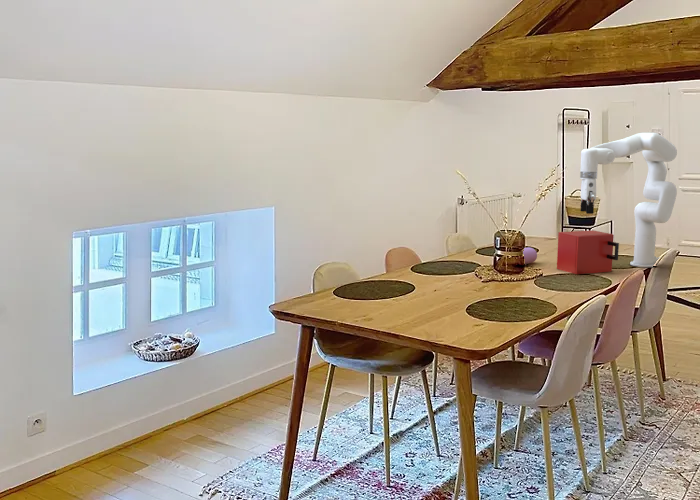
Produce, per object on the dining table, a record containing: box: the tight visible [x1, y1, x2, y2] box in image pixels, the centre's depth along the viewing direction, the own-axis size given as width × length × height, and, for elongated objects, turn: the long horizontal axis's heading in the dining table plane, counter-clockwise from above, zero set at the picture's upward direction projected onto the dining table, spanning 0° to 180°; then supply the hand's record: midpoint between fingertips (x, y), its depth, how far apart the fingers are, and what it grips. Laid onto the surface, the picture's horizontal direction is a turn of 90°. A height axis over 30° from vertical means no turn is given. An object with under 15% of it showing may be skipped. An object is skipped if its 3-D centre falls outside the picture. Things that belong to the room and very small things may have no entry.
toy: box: [523, 247, 538, 265], centre depth 356 cm, size 8×9×20 cm
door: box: [574, 233, 620, 275], centre depth 331 cm, size 7×20×18 cm, turn 110°
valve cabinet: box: [556, 230, 612, 275], centre depth 341 cm, size 14×20×18 cm
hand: (586, 212), depth 332 cm, fingers open, 9 cm apart
